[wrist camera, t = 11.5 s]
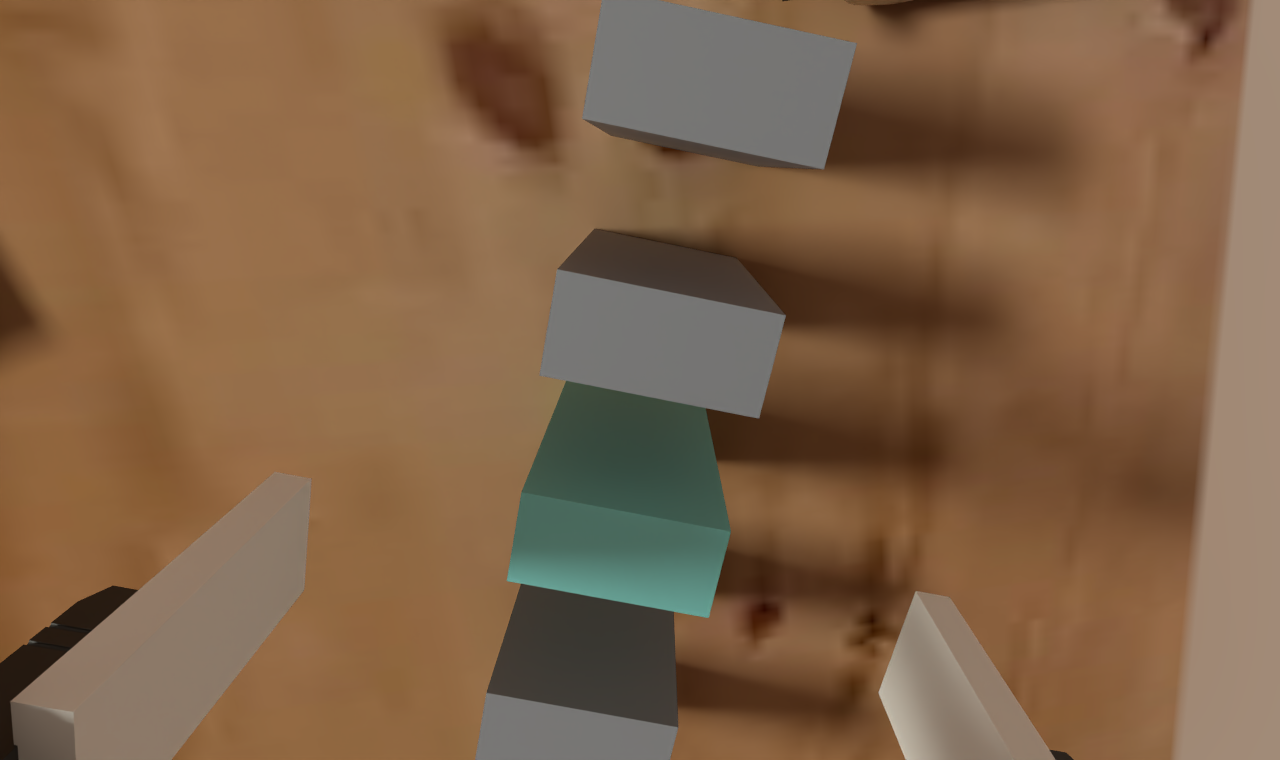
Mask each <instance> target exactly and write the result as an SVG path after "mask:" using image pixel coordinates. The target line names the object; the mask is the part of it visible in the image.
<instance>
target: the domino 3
mask: <svg viewBox="0 0 1280 760" xmlns="http://www.w3.org/2000/svg"><path fill="white" fill-rule="evenodd" d="M730 533H731V530H730V525H729V520H728V515H727V510H726V505H725V500H724V495H723V491H722V486H721V481H720V476H719V471H718V466H717V461H716V457H715V452H714V447H713V442H712V437H711V432H710V427H709V422H708V418H707V413H706V408H703V407H697V406H692V405H687V404H682V403H677V402H672V401H667V400H662V399H657V398H652V397H647V396H642V395H636V394H631V393H626V392H621V391H616V390H611V389H606V388H601V387H596V386H591V385H586V384H581V383H575V382H570V381H566V383H565V385H564V388H563V390H562V393H561V395H560V398H559V400H558V403H557V405H556V408H555V410H554V413H553V415H552V418H551V420H550V423H549V425H548V428H547V430H546V433H545V435H544V438H543V440H542V443H541V445H540V448H539V450H538V453H537V455H536V458H535V460H534V463H533V465H532V468H531V470H530V472H529V475H528V477H527V480H526V482H525V485H524V487H523V490H522V493H521V499H520V505H519V511H518V517H517V523H516V529H515V535H514V541H513V547H512V553H511V559H510V565H509V571H508V577H507V581H510V582H515V583H521V584H526V585H532V586H537V587H543V588H548V589H554V590H559V591H564V592H570V593H575V594H581V595H586V596H592V597H597V598H603V599H608V600H614V601H619V602H624V603H630V604H635V605H641V606H646V607H652V608H657V609H663V610H668V611H674V612H679V613H684V614H690V615H695V616H701V617H706V618H709V614H710V610H711V606H712V602H713V599H714V595H715V591H716V587H717V583H718V579H719V576H720V572H721V568H722V564H723V560H724V556H725V553H726V549H727V545H728V541H729V537H730Z"/></svg>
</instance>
